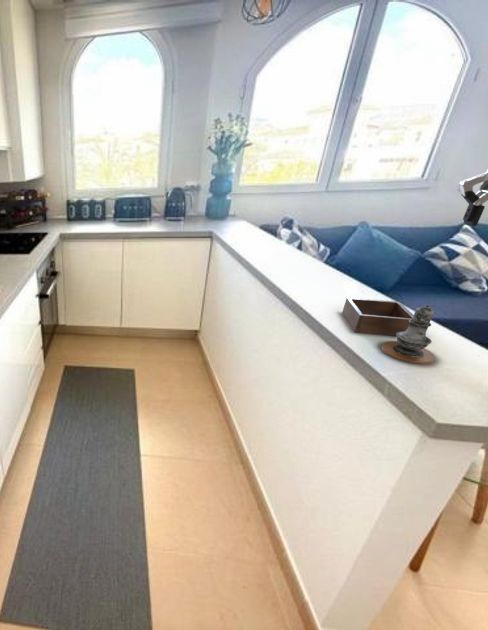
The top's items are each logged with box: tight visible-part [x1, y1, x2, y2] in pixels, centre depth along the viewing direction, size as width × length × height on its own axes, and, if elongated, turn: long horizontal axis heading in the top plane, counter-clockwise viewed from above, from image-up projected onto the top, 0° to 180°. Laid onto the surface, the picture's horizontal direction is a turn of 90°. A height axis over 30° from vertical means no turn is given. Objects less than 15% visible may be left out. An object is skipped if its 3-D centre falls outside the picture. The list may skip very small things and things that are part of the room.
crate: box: [341, 297, 414, 338], centre depth 91 cm, size 12×12×5 cm
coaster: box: [380, 340, 436, 365], centre depth 79 cm, size 9×9×1 cm
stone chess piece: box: [393, 303, 435, 357], centre depth 76 cm, size 6×6×12 cm
